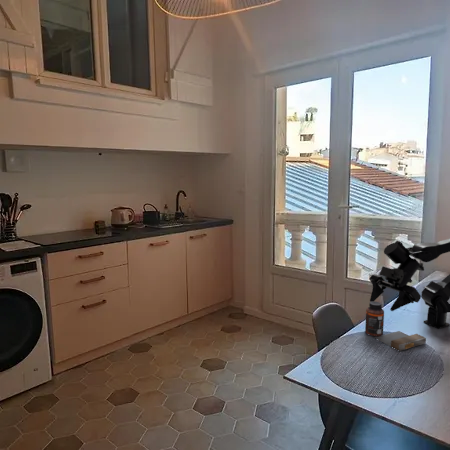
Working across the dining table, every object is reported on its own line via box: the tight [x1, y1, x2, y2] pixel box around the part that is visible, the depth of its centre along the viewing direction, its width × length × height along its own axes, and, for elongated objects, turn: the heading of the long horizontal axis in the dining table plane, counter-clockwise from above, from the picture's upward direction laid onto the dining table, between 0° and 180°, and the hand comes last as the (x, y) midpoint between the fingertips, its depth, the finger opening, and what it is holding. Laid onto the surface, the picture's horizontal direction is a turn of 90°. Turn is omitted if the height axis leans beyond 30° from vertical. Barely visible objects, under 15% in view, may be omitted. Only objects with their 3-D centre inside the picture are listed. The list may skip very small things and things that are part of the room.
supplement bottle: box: [364, 300, 385, 337], centre depth 133 cm, size 6×6×11 cm
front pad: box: [374, 330, 410, 347], centre depth 130 cm, size 12×7×1 cm, turn 115°
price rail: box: [390, 333, 427, 352], centre depth 125 cm, size 12×4×2 cm, turn 115°
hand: (380, 306), depth 134 cm, fingers open, 9 cm apart
